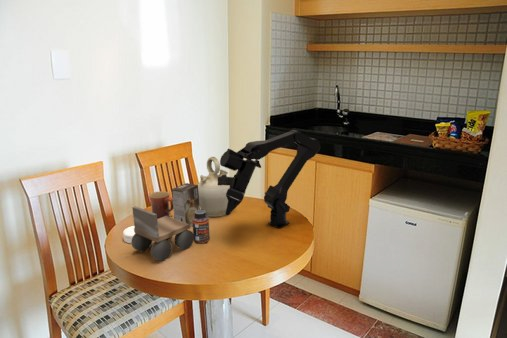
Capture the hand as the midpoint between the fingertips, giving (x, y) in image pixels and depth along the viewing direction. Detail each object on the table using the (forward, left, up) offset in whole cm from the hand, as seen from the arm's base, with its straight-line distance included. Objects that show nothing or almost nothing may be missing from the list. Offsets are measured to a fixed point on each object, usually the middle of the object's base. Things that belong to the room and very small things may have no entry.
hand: (227, 213), depth 145 cm
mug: (+4, -34, -10) cm, 36 cm away
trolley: (+22, -11, -9) cm, 26 cm away
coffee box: (+2, -21, -10) cm, 24 cm away
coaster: (+22, -27, -10) cm, 36 cm away
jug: (-14, -21, -10) cm, 28 cm away
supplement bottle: (+8, -6, -10) cm, 14 cm away
